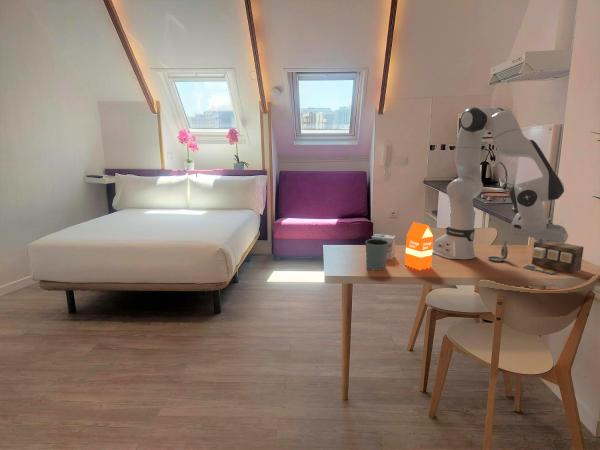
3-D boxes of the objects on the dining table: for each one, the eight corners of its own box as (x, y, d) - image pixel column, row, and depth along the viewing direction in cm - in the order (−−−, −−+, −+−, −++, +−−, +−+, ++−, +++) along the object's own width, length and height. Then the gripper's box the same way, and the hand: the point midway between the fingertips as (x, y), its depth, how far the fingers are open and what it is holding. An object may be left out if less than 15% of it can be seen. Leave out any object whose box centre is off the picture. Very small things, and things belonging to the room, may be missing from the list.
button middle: (546, 258, 183) (547, 249, 182) (553, 255, 187) (554, 247, 187) (556, 260, 180) (557, 251, 179) (563, 257, 184) (564, 249, 184)
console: (531, 263, 190) (534, 241, 188) (539, 260, 195) (541, 239, 193) (573, 273, 177) (576, 249, 175) (580, 269, 182) (583, 246, 180)
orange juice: (419, 270, 180) (422, 226, 176) (404, 265, 188) (407, 222, 184) (431, 267, 185) (434, 224, 180) (416, 262, 192) (419, 221, 188)
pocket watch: (484, 259, 197) (486, 239, 195) (497, 257, 201) (499, 237, 198) (498, 264, 190) (501, 243, 188) (511, 261, 193) (514, 241, 191)
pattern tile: (523, 267, 184) (523, 266, 184) (527, 265, 187) (528, 264, 187) (552, 274, 175) (552, 273, 175) (556, 272, 178) (557, 271, 178)
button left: (531, 256, 185) (532, 248, 185) (538, 254, 190) (539, 245, 189) (541, 258, 182) (542, 250, 182) (548, 256, 187) (549, 247, 186)
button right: (559, 261, 179) (560, 252, 178) (566, 258, 183) (567, 249, 183) (569, 263, 176) (570, 254, 175) (576, 260, 180) (577, 251, 180)
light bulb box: (370, 257, 200) (371, 236, 198) (373, 254, 206) (374, 233, 204) (392, 260, 196) (393, 238, 194) (394, 256, 202) (395, 235, 200)
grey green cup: (382, 263, 191) (383, 238, 188) (390, 270, 181) (392, 244, 178) (361, 264, 189) (362, 239, 186) (369, 271, 179) (369, 245, 177)
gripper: (567, 220, 157) (573, 241, 165) (513, 212, 173) (520, 231, 181) (561, 233, 155) (567, 253, 164) (507, 224, 171) (514, 243, 179)
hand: (542, 242), depth 172 cm, fingers closed
